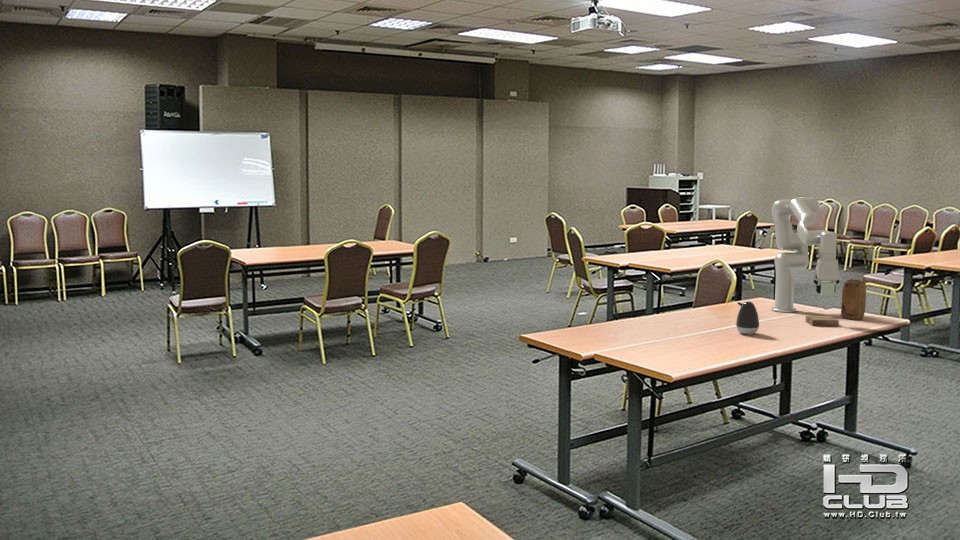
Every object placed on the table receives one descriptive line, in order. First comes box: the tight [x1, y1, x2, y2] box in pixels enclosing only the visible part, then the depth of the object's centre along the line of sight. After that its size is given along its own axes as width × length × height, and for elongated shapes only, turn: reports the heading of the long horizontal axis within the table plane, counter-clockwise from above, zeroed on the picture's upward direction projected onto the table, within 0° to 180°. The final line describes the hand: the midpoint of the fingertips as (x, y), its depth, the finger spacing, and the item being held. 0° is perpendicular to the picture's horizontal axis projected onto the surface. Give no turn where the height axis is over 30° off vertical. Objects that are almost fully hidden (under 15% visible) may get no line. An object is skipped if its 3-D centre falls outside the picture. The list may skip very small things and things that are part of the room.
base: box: [805, 315, 840, 328], centre depth 393 cm, size 12×12×3 cm
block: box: [840, 279, 867, 321], centre depth 406 cm, size 11×8×20 cm
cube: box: [816, 281, 835, 296], centre depth 392 cm, size 6×6×6 cm
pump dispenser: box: [735, 301, 760, 336], centre depth 370 cm, size 10×10×15 cm
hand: (825, 293), depth 392 cm, fingers closed on cube, 6 cm apart
